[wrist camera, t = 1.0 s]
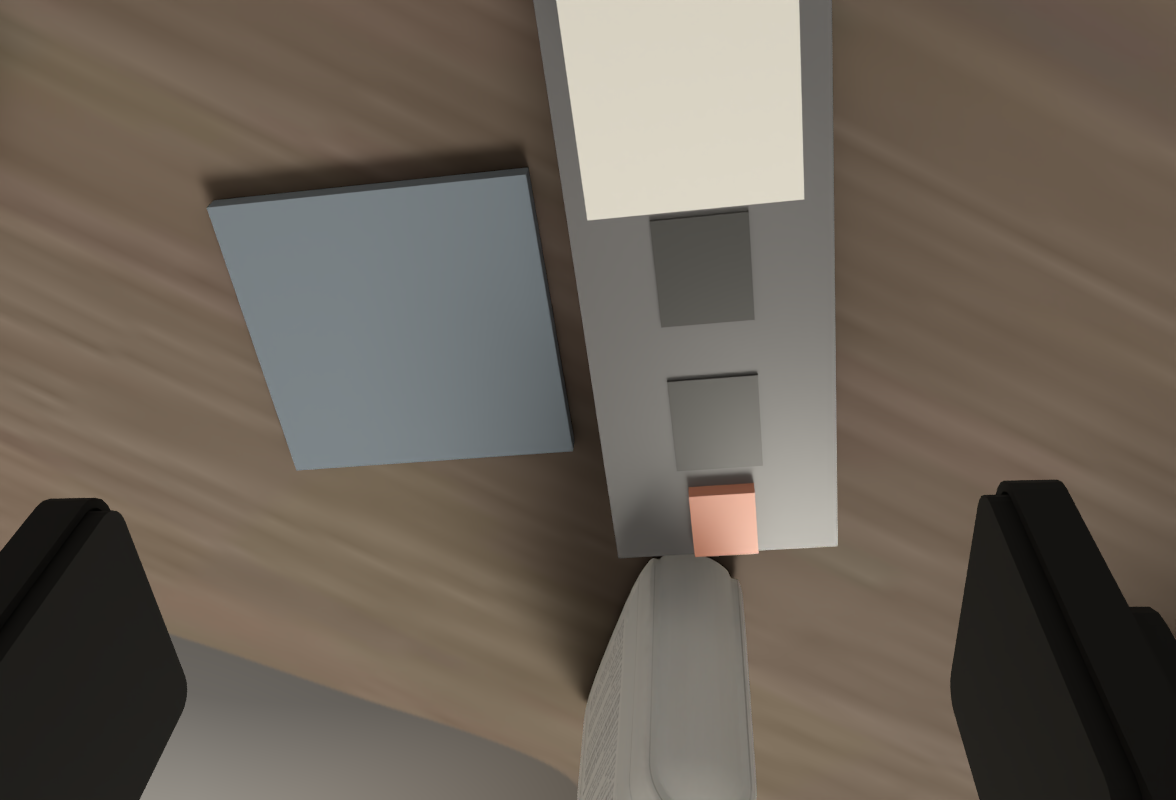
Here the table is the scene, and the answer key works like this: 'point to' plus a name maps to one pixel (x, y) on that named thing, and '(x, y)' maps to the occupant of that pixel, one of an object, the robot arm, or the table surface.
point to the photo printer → (673, 692)
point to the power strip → (713, 343)
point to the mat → (401, 318)
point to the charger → (684, 103)
